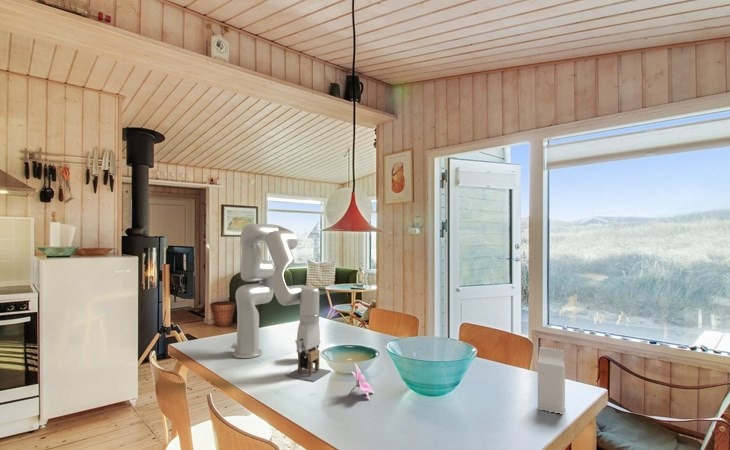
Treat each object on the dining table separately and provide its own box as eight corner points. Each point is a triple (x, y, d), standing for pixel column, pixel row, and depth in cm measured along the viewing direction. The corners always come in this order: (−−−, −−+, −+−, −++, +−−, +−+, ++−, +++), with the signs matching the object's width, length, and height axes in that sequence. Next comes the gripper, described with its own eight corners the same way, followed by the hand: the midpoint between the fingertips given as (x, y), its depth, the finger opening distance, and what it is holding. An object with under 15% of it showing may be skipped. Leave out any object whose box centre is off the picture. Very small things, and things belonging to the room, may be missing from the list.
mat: (284, 376, 155) (284, 375, 155) (303, 366, 167) (303, 365, 167) (313, 381, 149) (313, 380, 149) (331, 371, 161) (331, 370, 161)
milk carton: (562, 415, 124) (562, 353, 124) (537, 410, 127) (537, 349, 128) (565, 407, 130) (564, 348, 130) (541, 402, 134) (541, 344, 134)
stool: (297, 372, 157) (298, 351, 157) (306, 368, 162) (306, 348, 162) (310, 374, 154) (311, 353, 154) (319, 370, 159) (319, 349, 160)
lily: (355, 409, 128) (370, 382, 129) (331, 386, 135) (345, 361, 136) (373, 408, 138) (387, 383, 139) (349, 387, 145) (363, 364, 146)
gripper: (313, 314, 168) (312, 358, 168) (288, 322, 152) (287, 370, 152) (328, 316, 165) (327, 360, 164) (305, 324, 149) (304, 373, 149)
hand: (308, 364), depth 158 cm, fingers closed on stool, 6 cm apart
